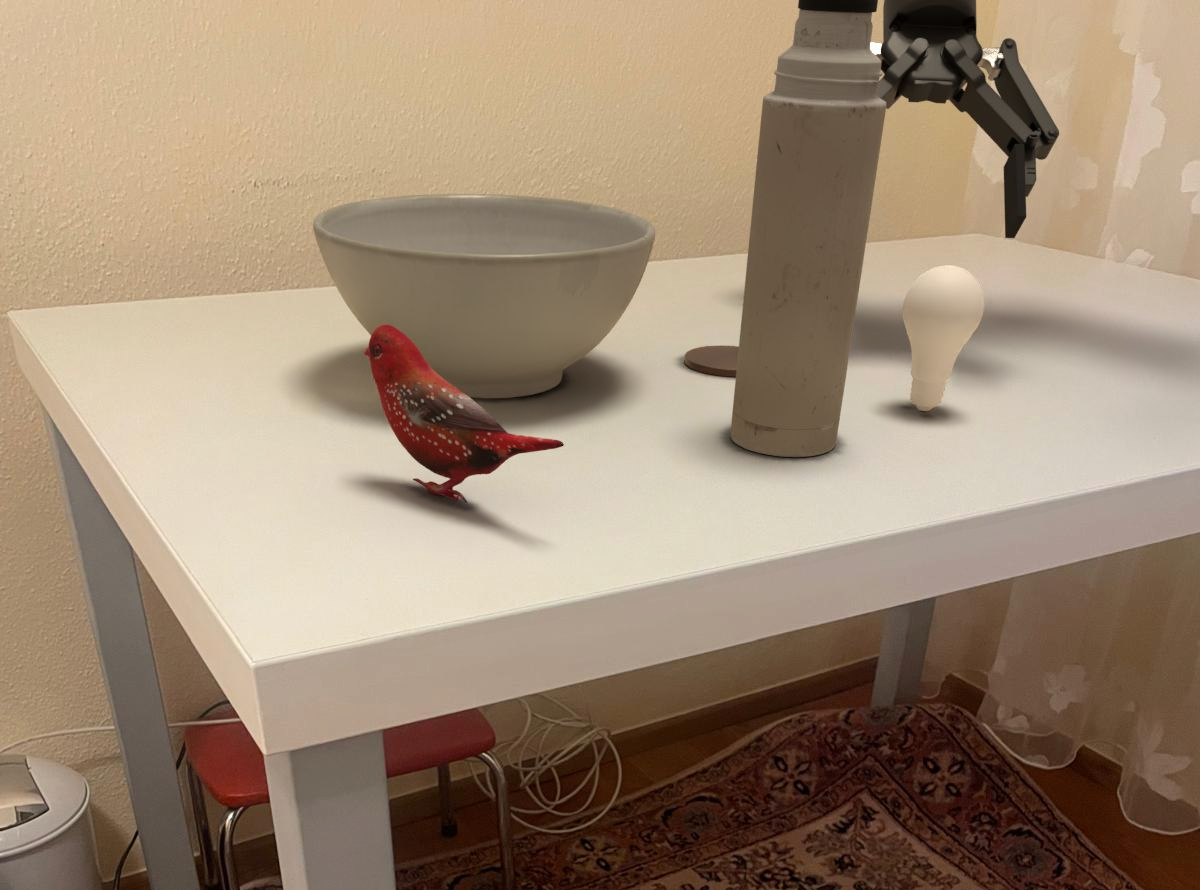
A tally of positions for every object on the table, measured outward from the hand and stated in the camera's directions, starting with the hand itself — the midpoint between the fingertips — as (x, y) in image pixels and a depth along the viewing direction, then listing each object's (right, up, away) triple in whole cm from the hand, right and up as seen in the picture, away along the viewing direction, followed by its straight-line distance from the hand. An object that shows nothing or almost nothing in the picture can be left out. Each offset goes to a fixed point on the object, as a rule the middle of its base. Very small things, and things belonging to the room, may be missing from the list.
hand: (931, 224), depth 97 cm
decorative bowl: (-36, -11, +5) cm, 38 cm away
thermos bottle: (-13, -19, -6) cm, 24 cm away
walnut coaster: (-15, -7, +10) cm, 20 cm away
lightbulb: (0, -15, +1) cm, 15 cm away
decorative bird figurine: (-36, -28, -19) cm, 49 cm away
